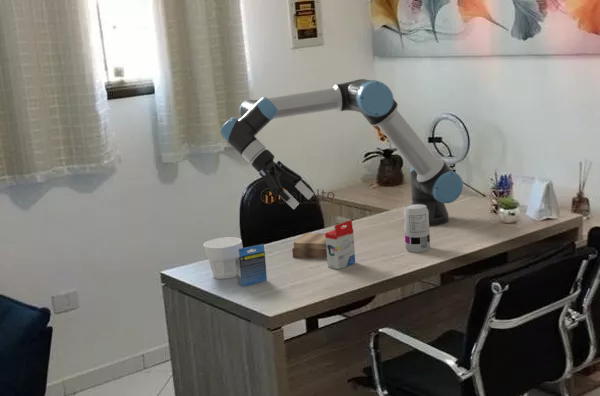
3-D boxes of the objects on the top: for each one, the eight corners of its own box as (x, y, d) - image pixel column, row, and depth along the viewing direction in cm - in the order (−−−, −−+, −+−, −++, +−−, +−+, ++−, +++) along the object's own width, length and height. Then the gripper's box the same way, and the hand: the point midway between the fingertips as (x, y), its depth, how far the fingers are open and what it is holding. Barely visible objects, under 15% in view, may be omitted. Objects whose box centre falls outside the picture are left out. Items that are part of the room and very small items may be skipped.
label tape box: (262, 278, 256) (258, 240, 254) (267, 281, 253) (264, 243, 250) (236, 284, 252) (233, 246, 250) (242, 287, 249) (238, 249, 246)
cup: (213, 283, 254) (210, 250, 252) (202, 273, 266) (198, 241, 263) (250, 276, 259) (247, 243, 257) (237, 266, 270) (234, 234, 268)
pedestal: (340, 247, 283) (339, 233, 281) (329, 258, 271) (327, 244, 270) (305, 246, 287) (304, 232, 286) (292, 257, 275) (291, 243, 274)
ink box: (344, 260, 267) (341, 217, 264) (355, 262, 264) (353, 219, 260) (327, 267, 261) (323, 223, 258) (338, 270, 258) (335, 225, 255)
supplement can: (400, 251, 272) (398, 208, 269) (414, 245, 278) (412, 202, 275) (420, 254, 267) (418, 210, 263) (434, 248, 272) (432, 205, 269)
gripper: (267, 157, 280) (310, 200, 277) (235, 171, 257) (282, 218, 255) (280, 142, 276) (323, 185, 274) (249, 155, 254) (297, 202, 252)
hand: (304, 201), depth 265 cm, fingers open, 13 cm apart
